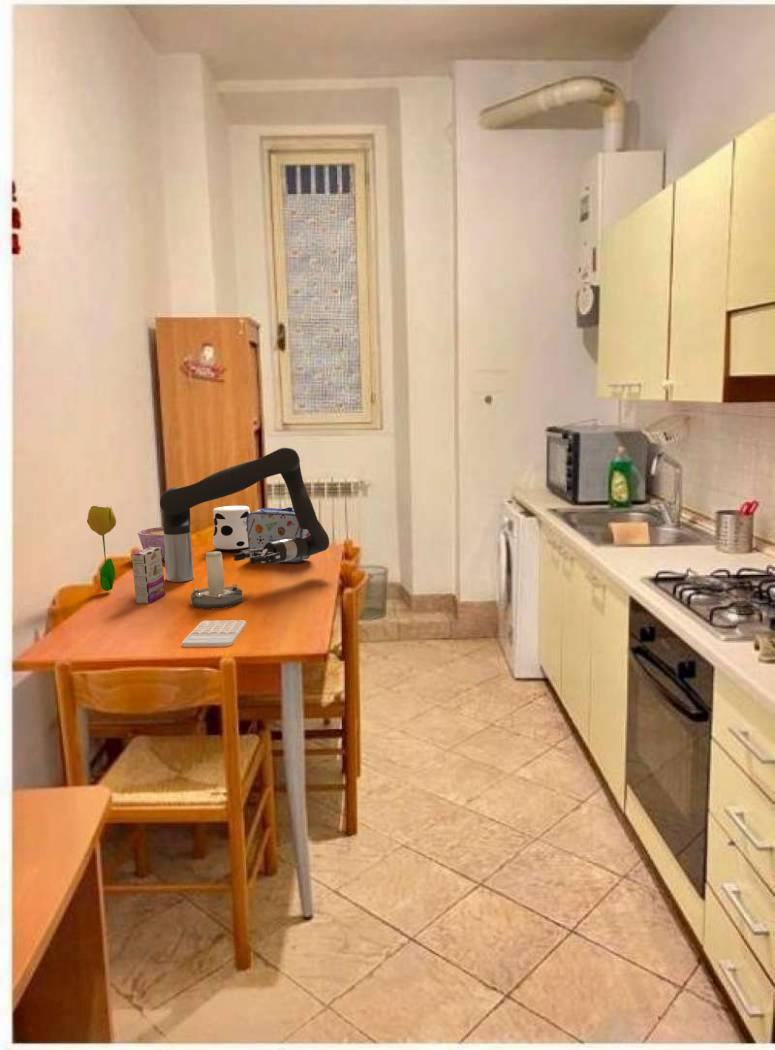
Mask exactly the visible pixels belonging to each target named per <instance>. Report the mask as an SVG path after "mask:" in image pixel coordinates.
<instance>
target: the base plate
mask: <svg viewBox="0 0 775 1050" xmlns="http://www.w3.org/2000/svg"><path fill="white" fill-rule="evenodd" d="M224 588H225V592H224V593H221V594H209V589H208V587H207V588H203V589H202V588H201V589H199V588H196V587H194V588H193V589H192V590H193V591H192V593H190V601H191V602H190V603H191V606H192V607H193V608H195V607H196V609H200V608H203V610H217V609H216V608H220V609H226V608H225V607H227V608H231V607H230V606H232V607H235V606H238V605H240V604H241V603H243V590H242V589H241V588H238V585H237V584H232V587H231V586H224ZM239 603H240V604H239ZM237 604H238V605H237ZM234 605H235V606H234ZM212 608H213V609H212ZM214 608H215V609H214Z"/></svg>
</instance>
